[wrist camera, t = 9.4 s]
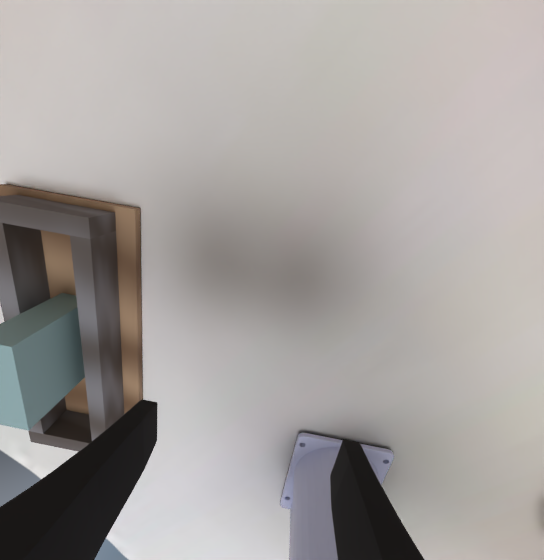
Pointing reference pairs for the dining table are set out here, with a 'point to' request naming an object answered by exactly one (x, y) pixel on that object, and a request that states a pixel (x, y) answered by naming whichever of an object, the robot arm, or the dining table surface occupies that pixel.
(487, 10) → the dining table surface
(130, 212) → the floor track
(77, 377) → the door panel
